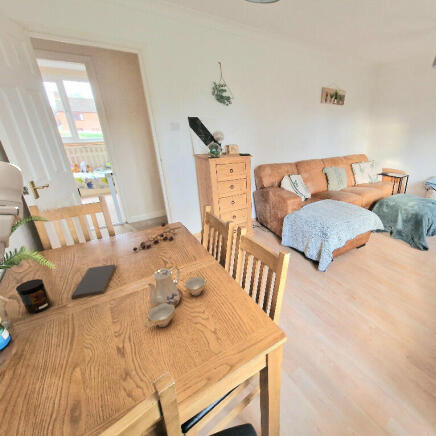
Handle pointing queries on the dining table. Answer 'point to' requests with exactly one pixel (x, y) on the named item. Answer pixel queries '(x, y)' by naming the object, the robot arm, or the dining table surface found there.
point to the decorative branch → (157, 238)
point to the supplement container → (34, 295)
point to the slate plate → (94, 281)
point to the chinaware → (169, 295)
